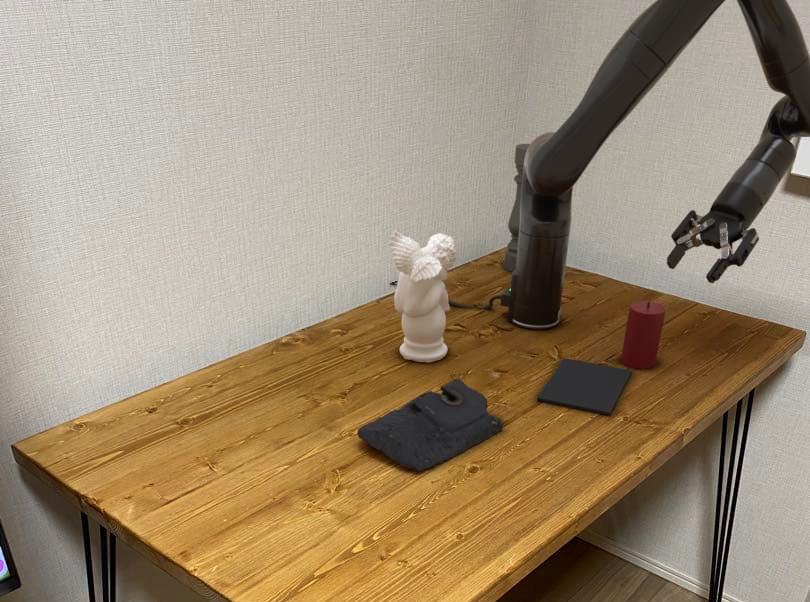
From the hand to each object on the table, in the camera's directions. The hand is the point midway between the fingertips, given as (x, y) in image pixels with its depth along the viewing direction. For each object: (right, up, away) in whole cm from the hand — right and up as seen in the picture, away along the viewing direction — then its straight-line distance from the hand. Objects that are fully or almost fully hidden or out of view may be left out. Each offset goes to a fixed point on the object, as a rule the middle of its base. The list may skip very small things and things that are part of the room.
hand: (689, 273), depth 154 cm
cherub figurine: (-46, -14, +3) cm, 48 cm away
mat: (-19, -21, -5) cm, 29 cm away
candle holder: (-24, +14, +42) cm, 51 cm away
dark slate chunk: (-46, -30, -19) cm, 58 cm away
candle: (-8, -15, +3) cm, 17 cm away
